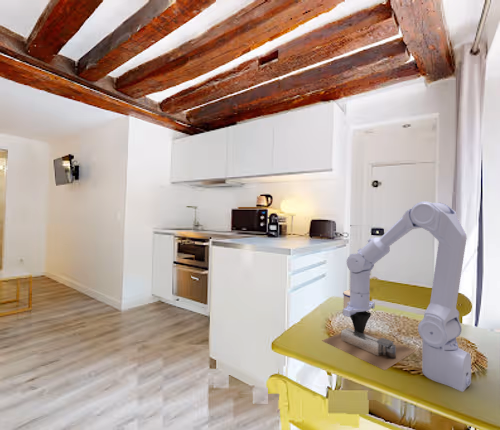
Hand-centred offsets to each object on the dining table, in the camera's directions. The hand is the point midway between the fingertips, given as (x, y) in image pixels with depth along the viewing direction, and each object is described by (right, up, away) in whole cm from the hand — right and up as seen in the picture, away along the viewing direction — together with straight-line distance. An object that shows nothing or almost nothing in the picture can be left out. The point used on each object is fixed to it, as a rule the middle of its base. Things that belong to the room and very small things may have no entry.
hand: (359, 334), depth 85 cm
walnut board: (+1, -3, -3) cm, 4 cm away
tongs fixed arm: (0, -2, -5) cm, 5 cm away
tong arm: (+1, -2, -4) cm, 5 cm away
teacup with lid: (+9, -4, +27) cm, 28 cm away
